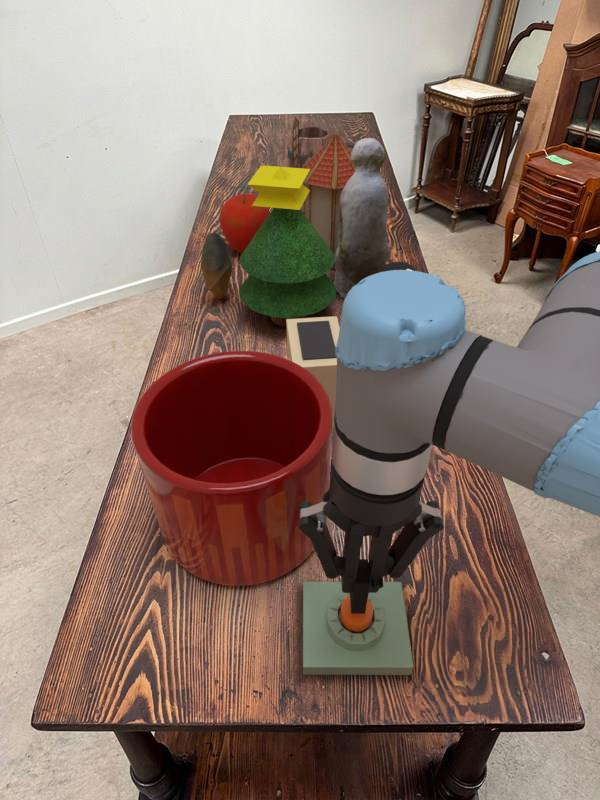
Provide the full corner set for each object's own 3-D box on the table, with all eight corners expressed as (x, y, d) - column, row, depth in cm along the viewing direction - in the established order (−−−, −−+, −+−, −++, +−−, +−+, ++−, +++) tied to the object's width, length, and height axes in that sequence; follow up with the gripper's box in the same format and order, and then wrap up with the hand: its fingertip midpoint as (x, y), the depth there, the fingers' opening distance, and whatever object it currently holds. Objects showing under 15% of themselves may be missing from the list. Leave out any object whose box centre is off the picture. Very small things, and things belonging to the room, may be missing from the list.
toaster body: (333, 387, 95) (336, 314, 84) (344, 436, 86) (349, 362, 76) (288, 390, 94) (286, 317, 84) (294, 440, 86) (293, 366, 75)
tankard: (276, 221, 143) (273, 142, 130) (283, 196, 156) (281, 121, 142) (364, 225, 142) (371, 145, 128) (364, 198, 154) (370, 123, 140)
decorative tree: (325, 350, 103) (331, 194, 82) (229, 337, 106) (212, 184, 85) (342, 296, 116) (350, 151, 96) (256, 287, 119) (246, 144, 99)
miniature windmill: (286, 228, 141) (283, 101, 120) (361, 229, 140) (371, 101, 120) (280, 275, 123) (275, 135, 103) (366, 276, 122) (378, 136, 102)
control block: (399, 590, 67) (403, 574, 64) (410, 675, 60) (416, 660, 57) (303, 590, 67) (303, 574, 64) (302, 674, 60) (302, 660, 57)
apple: (236, 236, 138) (231, 180, 128) (280, 243, 134) (278, 187, 125) (214, 258, 129) (207, 200, 119) (259, 267, 126) (256, 208, 116)
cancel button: (370, 601, 62) (371, 593, 61) (373, 632, 60) (374, 625, 58) (339, 601, 62) (339, 593, 61) (340, 632, 60) (341, 625, 58)
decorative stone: (230, 312, 112) (222, 245, 102) (201, 310, 113) (191, 244, 103) (239, 287, 119) (233, 223, 109) (212, 286, 120) (204, 221, 110)
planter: (160, 465, 82) (131, 362, 68) (307, 441, 85) (308, 339, 72) (164, 608, 65) (127, 510, 52) (346, 571, 69) (357, 470, 55)
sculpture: (382, 271, 124) (398, 132, 104) (387, 305, 114) (405, 158, 93) (333, 270, 125) (339, 131, 104) (332, 304, 114) (339, 157, 94)
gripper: (451, 426, 45) (411, 570, 61) (296, 426, 45) (297, 569, 61) (471, 500, 40) (422, 636, 56) (295, 499, 40) (297, 635, 56)
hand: (357, 601), depth 59 cm, fingers closed
